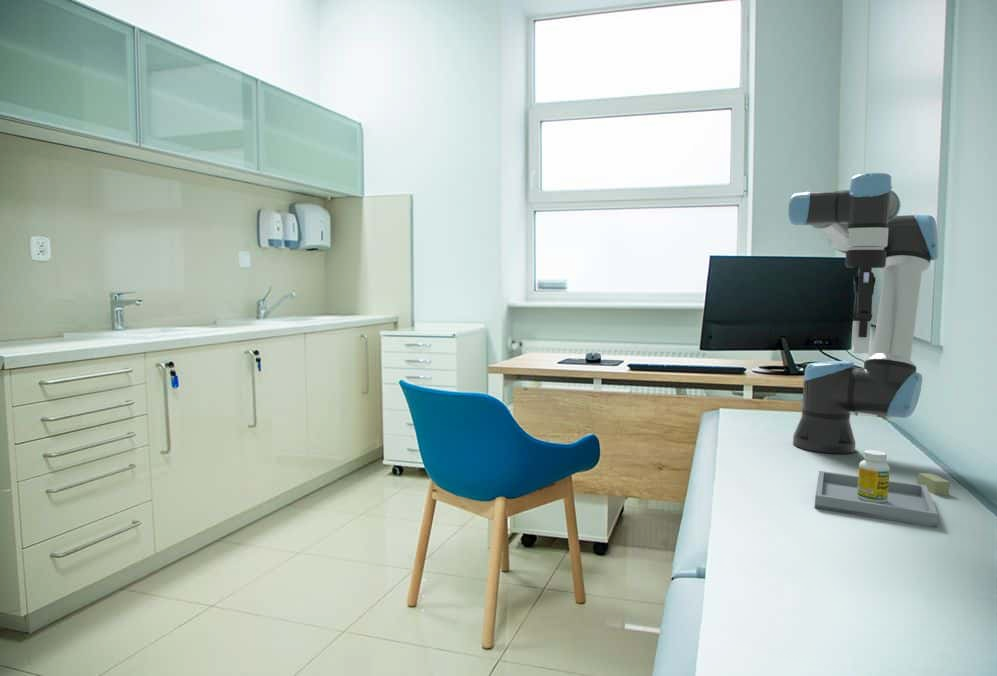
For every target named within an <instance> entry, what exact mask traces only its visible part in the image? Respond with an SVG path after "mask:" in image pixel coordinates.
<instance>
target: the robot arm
mask: <svg viewBox="0 0 997 676" xmlns="http://www.w3.org/2000/svg"><path fill="white" fill-rule="evenodd" d="M892 189H893V186H892V176H891V175H890V174H889V173H887V172H870V173H868V172H867V173H861V174H856V175H853V176H852V177H851V180H850V185H849V189H843V190H826V191H823V190H822V191H805V192H797V193H794V194H792V195H791V197H790V199H789V203H788V211H787V212H788V219H789V222H790V224H792V225H793V226H802V227H803V226H811V227H812V228H814V229H816V231H818V232H819V233H820V234H822V235H823V236H824V237H826V238H827V242H828V243H829V245H830V246H831V247H832V248H834V249H835V250H837V251H838V252H841V253H842V254H845V261H844V266H845V267H846V268H849V269H857V268H858V271H856V273H855V276H853V279H852V280H853V281H852V284H853V294H854V304H853V309H852V311H853V312H852V314H853V316H852V331H851V344H850V345H851V346H853V353H855V354H868V355H869V354H870V341H871V339H870V338H871V324H872V322H871V321H872V318H873V314H872V313H873V312H872V311H873V296H874V292H875V291H874V290H875V285H876V276H875V274H874V272H872V271H873V270H872V269H882V270H883V275H882V276H883V277H882V283H881V291H880V298H879V305H878V310H877V311H878V312H877V318H876V320H877V321H876V327H875V333H874V340H873V349H872V352H871V353H872V355H870V356H869V357H868V358H866V359H865V360H864V362H863V364H864V365H863V367H856V366H855V363H854V362H853V361H851V360H850V361H848V360H834V361H833V360H831V361H818V362H817V361H815V362H812V363H809V364H807V365H806V367H805V369H804V376H803V377H804V378H803V380H802V381H803V390H802V391H803V392H802V406H801V407H802V408H801V416H800V419H799V422H798V424H797V426H796V428H795V431H794V433H793V437H792V445H794V446H795V447H798V448H800V449H804V450H808V451H810V452H811V451H812V452H816V453H817V452H818V453H823V454H824V453H825V454H826V453H827V454H843V455H844V454H851V453H854V452H855V451H856V445H857V444H856V439H855V436H854V432H853V429H852V425H851V421H850V420H851V413H858V414H864V415H865V414H866V415H874V416H882V417H887V418H890V419H891V418H899V419H906V418H909V417H910V416H912V415H913V413H914V412H915V410H916V408H917V405H918V402H919V398H920V395H921V391H922V384H923V374H921V373H919V372H917V365H916V364H915V363H914V362H913V361H912V360H911V358H912V351H913V342H914V335H915V327H916V319H917V313H918V305H919V297H920V289H921V282H922V281H921V280H922V273H923V272H925V271H926V270H928V269H929V268H930V266H931V261H936V260H938V259H939V237H938V236H939V235H938V226H937V221H936V219H935V218H934V217H933V216H932V215H928V214H927V215H926V214H924V215H923V214H922V215H921V214H920V215H919V214H913V215H911V214H909V215H899V213H900V210H901V201H900V198H899V196H898V195H897V193H896V192H895V191H893V190H892Z"/></svg>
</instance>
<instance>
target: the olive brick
mask: <svg viewBox="0 0 997 676" xmlns="http://www.w3.org/2000/svg"><path fill="white" fill-rule="evenodd" d="M917 477H918V478H917V484H919V485H926V486H927V488H928V491H929V493H930V494H933V495H938V494H949V495H950V484H951V482H950V480H949V481H948V480H947V479H944V478H943V477H941V476H939V475H936V474H934V473H926V472H925V473H924V472H920V473H918V474H917Z"/></svg>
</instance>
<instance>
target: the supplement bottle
mask: <svg viewBox="0 0 997 676" xmlns="http://www.w3.org/2000/svg"><path fill="white" fill-rule="evenodd" d="M863 458H864V459H863V460H861V461H860V462H859V464H858V475H857V476H858V491H857V496H858V498H859V499H861V500H864V501H867V502H872V503H885V502H886V501H887V498H888V485H889V480H890V471H891V470H890V465H889V464H888V463H886V462H887V459H888V454H887V453H886V452H884V451H881V450H880V451H879V450H874V449H873V450H872V449H868V450H867V449H866V450H863Z"/></svg>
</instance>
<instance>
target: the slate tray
mask: <svg viewBox="0 0 997 676" xmlns="http://www.w3.org/2000/svg"><path fill="white" fill-rule="evenodd" d="M817 476H818V477H817V483H816V490H815V497H814V498H815V499H814V508H815V509H818V510H819V509H820V510H827V511H834V512H840V513H845V514H851V515H855V516H856V515H857V516H862V517H870V518H876V519H882V520H889V521H894V522H899V523H907V524H912V525H917V526H918V525H920V526H924V527H930V528H937V527H938V521H939V520H938V517H939V513H938V510H937V508H936V506H935V504H934V501H933V499H932V496H931V492H929V491H928V488H927V486H926V485H919V484H918V483H910V482H905V481H896V480H890V479H889V485H888V498H887V501H886V502H885V503H872V502H867V501H864V500H861V499H859V498H858V496H857V491H858V476H859V475H853V474H845V473H838V472H830V471H825V470H818V475H817Z"/></svg>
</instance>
